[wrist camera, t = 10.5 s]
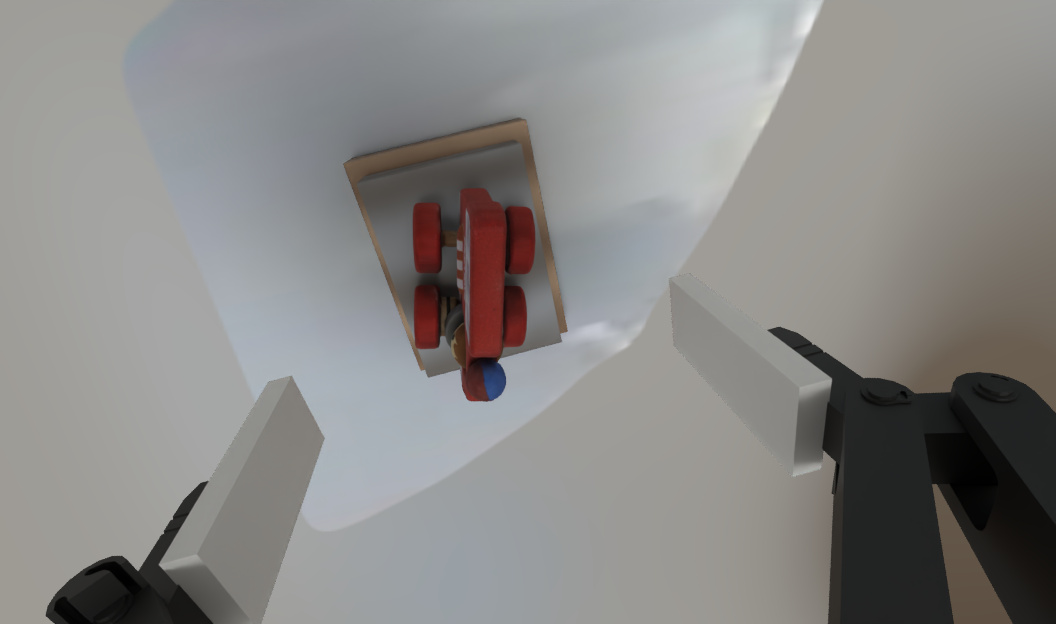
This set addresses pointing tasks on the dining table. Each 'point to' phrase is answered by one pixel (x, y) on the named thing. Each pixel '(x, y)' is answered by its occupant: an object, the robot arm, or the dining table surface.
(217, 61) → the dining table surface
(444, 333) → the toy fire truck
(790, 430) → the robot arm
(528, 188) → the wooden tray
